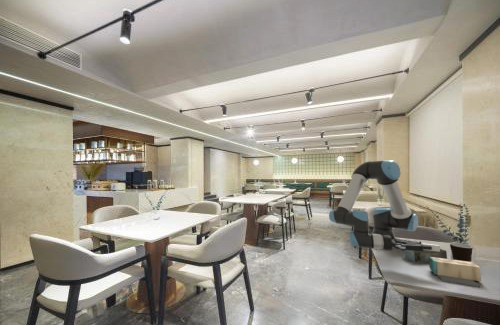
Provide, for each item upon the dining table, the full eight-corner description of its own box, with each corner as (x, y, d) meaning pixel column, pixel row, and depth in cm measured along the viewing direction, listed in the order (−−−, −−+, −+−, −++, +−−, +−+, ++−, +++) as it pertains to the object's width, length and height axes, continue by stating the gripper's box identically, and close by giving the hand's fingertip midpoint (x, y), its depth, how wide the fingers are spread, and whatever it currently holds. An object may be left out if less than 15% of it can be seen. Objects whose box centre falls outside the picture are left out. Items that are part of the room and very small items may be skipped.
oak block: (429, 256, 104) (472, 262, 97) (430, 269, 104) (473, 275, 97) (434, 261, 99) (480, 267, 92) (434, 274, 98) (481, 281, 92)
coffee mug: (469, 269, 105) (467, 248, 106) (447, 262, 113) (446, 243, 113) (480, 265, 110) (478, 245, 110) (458, 259, 117) (457, 241, 118)
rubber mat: (429, 266, 108) (429, 265, 108) (460, 271, 103) (460, 269, 103) (442, 281, 93) (442, 279, 93) (479, 286, 88) (479, 285, 88)
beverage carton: (403, 257, 120) (402, 246, 121) (434, 257, 121) (434, 245, 122) (415, 263, 112) (414, 251, 113) (448, 262, 113) (447, 250, 114)
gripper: (380, 245, 115) (434, 251, 106) (384, 253, 103) (446, 261, 94) (379, 231, 116) (433, 236, 106) (384, 238, 104) (445, 244, 94)
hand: (439, 248), depth 100 cm, fingers closed
